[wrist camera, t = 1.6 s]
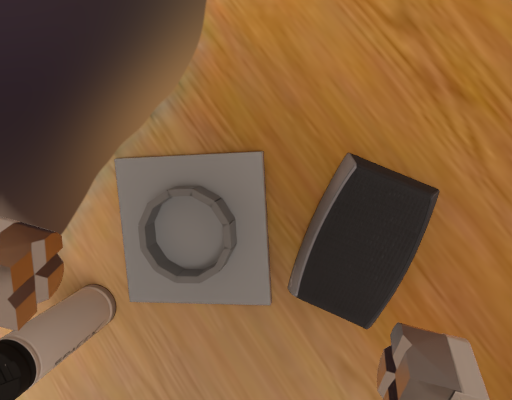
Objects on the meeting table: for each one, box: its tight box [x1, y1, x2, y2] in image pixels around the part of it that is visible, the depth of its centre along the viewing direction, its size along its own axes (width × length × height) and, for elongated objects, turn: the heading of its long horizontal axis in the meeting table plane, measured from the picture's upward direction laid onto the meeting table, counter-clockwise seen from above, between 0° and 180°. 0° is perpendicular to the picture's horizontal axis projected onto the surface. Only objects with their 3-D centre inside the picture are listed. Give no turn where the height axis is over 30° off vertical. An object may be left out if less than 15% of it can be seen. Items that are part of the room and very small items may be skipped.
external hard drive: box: [288, 153, 439, 329], centre depth 52 cm, size 13×19×4 cm
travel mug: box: [0, 284, 116, 400], centre depth 53 cm, size 6×7×20 cm
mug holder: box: [115, 151, 272, 305], centre depth 56 cm, size 20×20×4 cm
